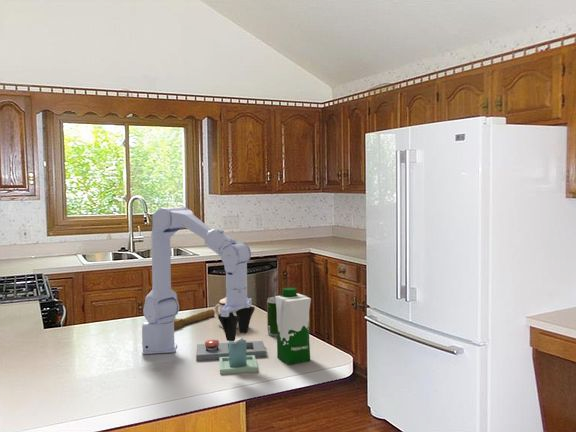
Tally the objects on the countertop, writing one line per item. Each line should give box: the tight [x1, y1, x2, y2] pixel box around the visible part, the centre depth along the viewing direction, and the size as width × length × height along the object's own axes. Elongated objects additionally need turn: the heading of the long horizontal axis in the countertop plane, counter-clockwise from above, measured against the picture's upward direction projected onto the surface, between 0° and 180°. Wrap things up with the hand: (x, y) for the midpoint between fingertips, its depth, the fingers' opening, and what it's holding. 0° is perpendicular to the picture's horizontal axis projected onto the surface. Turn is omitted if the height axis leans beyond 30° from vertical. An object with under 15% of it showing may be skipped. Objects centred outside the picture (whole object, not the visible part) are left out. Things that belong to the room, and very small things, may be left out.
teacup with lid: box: [214, 296, 239, 329], centre depth 185 cm, size 12×9×12 cm
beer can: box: [266, 296, 277, 337], centre depth 173 cm, size 5×5×12 cm
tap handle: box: [174, 309, 216, 331], centre depth 186 cm, size 3×3×30 cm
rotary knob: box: [228, 337, 247, 368], centre depth 142 cm, size 5×5×7 cm
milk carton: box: [274, 286, 312, 366], centre depth 147 cm, size 9×9×20 cm
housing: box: [195, 340, 267, 361], centre depth 154 cm, size 20×10×2 cm, turn 98°
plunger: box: [204, 339, 220, 351], centre depth 153 cm, size 4×4×3 cm
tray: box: [218, 355, 259, 375], centre depth 143 cm, size 10×10×1 cm
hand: (237, 336), depth 142 cm, fingers open, 7 cm apart
